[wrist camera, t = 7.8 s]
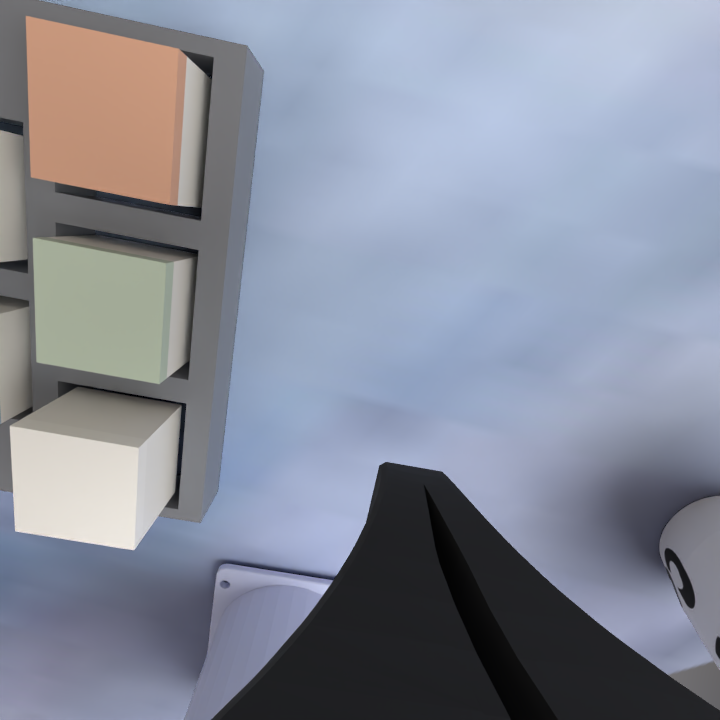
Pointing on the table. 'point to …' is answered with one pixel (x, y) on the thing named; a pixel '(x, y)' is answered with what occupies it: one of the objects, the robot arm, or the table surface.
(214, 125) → the keypad board
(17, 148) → the cream key
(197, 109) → the terracotta key
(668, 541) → the cup
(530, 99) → the table surface
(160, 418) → the cream key
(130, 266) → the sage key
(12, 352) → the blue key
